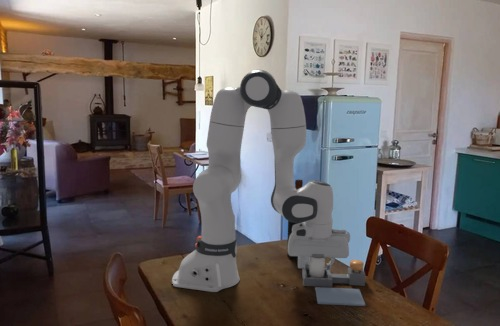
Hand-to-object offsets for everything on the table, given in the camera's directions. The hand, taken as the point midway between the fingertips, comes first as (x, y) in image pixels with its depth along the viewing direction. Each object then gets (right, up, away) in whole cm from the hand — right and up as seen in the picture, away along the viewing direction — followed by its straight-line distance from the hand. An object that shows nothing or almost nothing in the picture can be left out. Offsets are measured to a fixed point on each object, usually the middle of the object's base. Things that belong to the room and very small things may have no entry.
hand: (317, 268), depth 140 cm
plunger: (+13, -4, 0) cm, 14 cm away
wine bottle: (-4, -1, +23) cm, 23 cm away
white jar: (0, -4, +1) cm, 4 cm away
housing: (+5, -4, 0) cm, 7 cm away
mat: (+5, -6, -11) cm, 14 cm away
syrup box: (-2, -2, +13) cm, 13 cm away
